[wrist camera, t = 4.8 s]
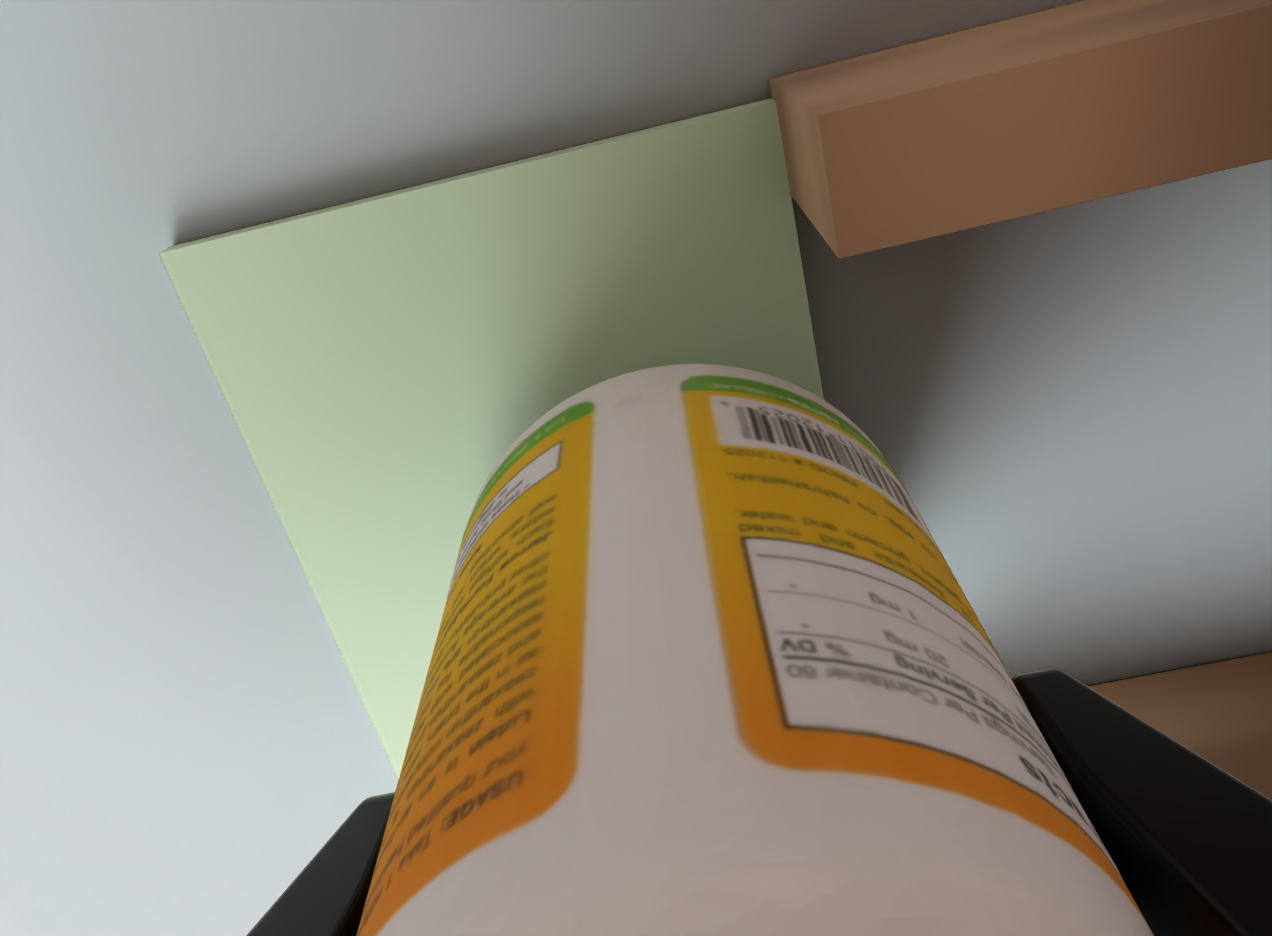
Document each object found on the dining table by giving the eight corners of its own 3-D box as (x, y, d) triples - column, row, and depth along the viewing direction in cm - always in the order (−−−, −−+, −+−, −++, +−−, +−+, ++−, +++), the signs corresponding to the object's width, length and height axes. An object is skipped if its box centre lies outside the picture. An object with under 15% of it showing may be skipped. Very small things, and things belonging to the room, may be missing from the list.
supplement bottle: (533, 763, 14) (384, 2169, 5) (404, 409, 11) (-323, 1921, 3) (929, 689, 13) (1537, 2097, 4) (881, 303, 11) (1993, 1705, 2)
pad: (771, 98, 11) (775, 101, 11) (883, 776, 15) (887, 790, 15) (169, 246, 11) (158, 253, 11) (442, 856, 16) (439, 872, 16)
